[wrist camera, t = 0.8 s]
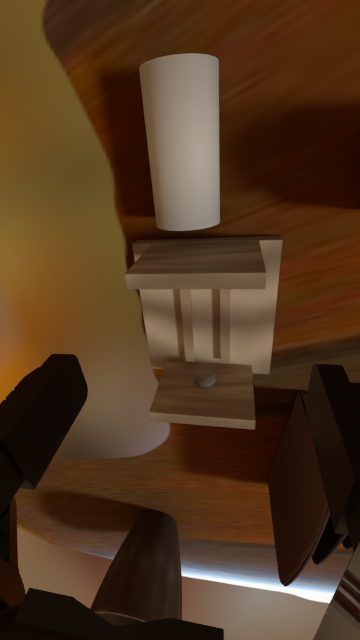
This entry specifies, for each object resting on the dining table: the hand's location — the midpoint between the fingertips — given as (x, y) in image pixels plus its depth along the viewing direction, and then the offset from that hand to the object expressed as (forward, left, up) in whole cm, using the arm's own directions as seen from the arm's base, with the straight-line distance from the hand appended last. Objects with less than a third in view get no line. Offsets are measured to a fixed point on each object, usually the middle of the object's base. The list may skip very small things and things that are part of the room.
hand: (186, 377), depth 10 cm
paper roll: (-7, -3, -19) cm, 20 cm away
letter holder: (+30, +13, -22) cm, 39 cm away
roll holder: (+8, -1, -21) cm, 23 cm away
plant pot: (+56, -13, -21) cm, 61 cm away
